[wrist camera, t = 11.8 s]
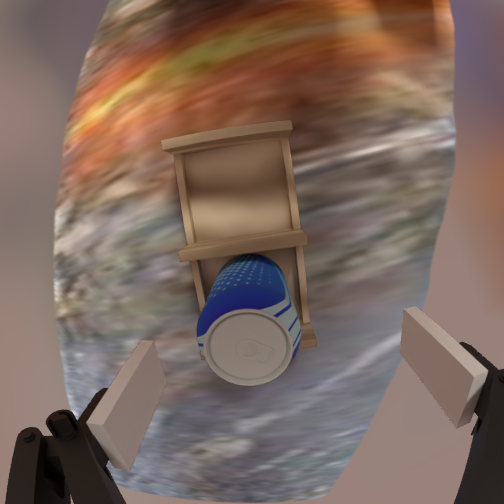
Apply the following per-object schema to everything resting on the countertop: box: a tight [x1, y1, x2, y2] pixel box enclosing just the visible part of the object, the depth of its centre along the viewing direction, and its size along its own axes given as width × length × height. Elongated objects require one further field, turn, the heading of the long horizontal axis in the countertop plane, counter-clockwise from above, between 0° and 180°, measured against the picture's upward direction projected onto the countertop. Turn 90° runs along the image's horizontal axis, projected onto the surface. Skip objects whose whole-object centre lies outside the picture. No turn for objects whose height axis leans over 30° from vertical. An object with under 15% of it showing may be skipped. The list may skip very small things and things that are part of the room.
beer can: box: [197, 254, 301, 386], centre depth 29 cm, size 8×8×16 cm
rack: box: [161, 120, 317, 360], centre depth 33 cm, size 24×13×7 cm, turn 8°
